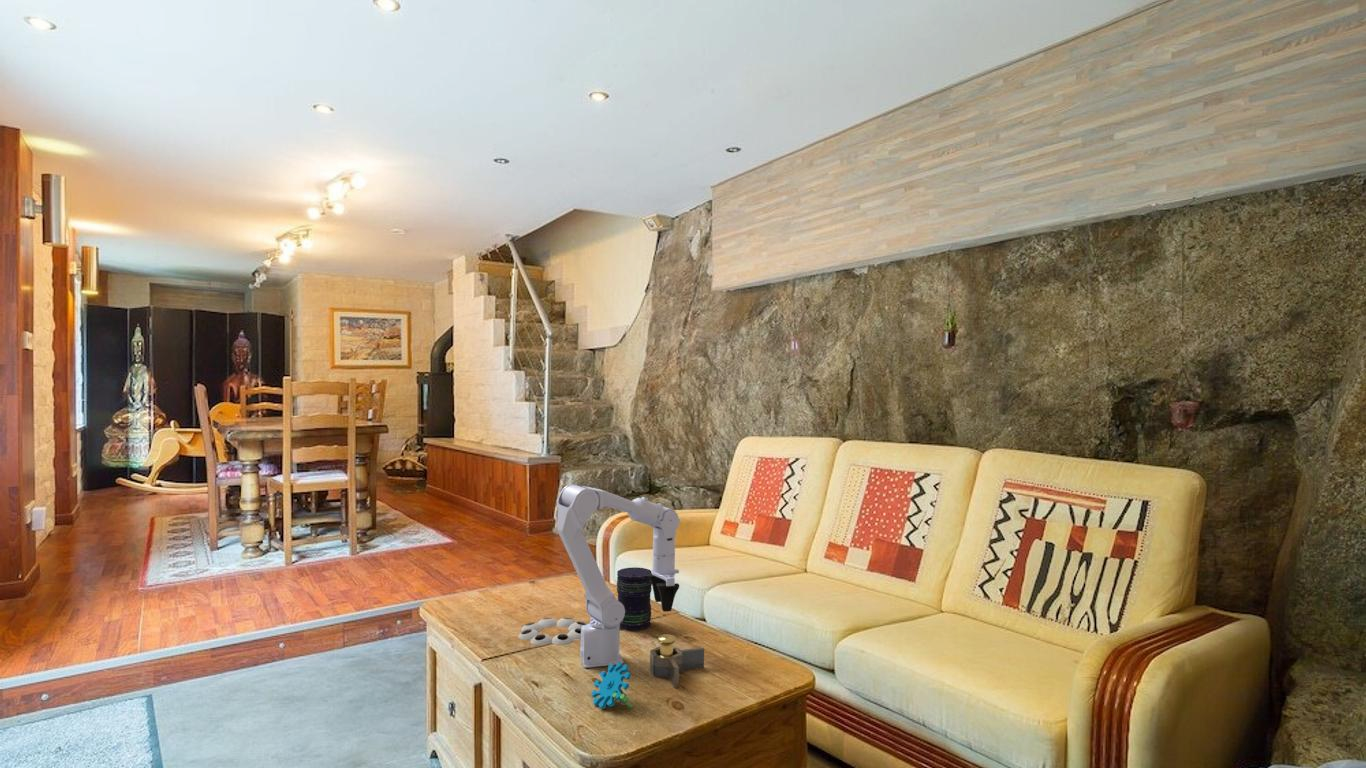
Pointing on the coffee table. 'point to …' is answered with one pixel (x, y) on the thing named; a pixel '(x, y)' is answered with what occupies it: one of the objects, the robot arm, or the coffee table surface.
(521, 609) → the coffee table surface
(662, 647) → the hinge pin
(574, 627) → the ring
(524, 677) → the coffee table surface
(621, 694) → the gear
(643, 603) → the storage jar
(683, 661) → the hinge
